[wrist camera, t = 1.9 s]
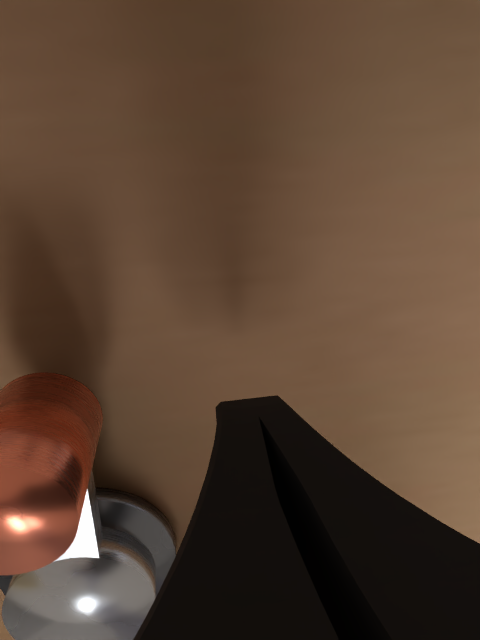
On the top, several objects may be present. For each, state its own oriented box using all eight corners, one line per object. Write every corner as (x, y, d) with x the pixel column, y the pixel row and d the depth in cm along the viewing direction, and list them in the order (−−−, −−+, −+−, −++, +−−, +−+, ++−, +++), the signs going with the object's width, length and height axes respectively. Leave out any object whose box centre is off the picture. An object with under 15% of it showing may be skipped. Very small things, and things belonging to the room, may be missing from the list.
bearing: (179, 597, 15) (179, 611, 14) (19, 621, 14) (14, 637, 14) (170, 478, 13) (170, 491, 12) (-16, 499, 12) (-24, 513, 12)
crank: (160, 611, 14) (158, 758, 10) (28, 631, 13) (-19, 794, 10) (134, 354, 10) (118, 453, 7) (-47, 366, 10) (-158, 480, 6)
